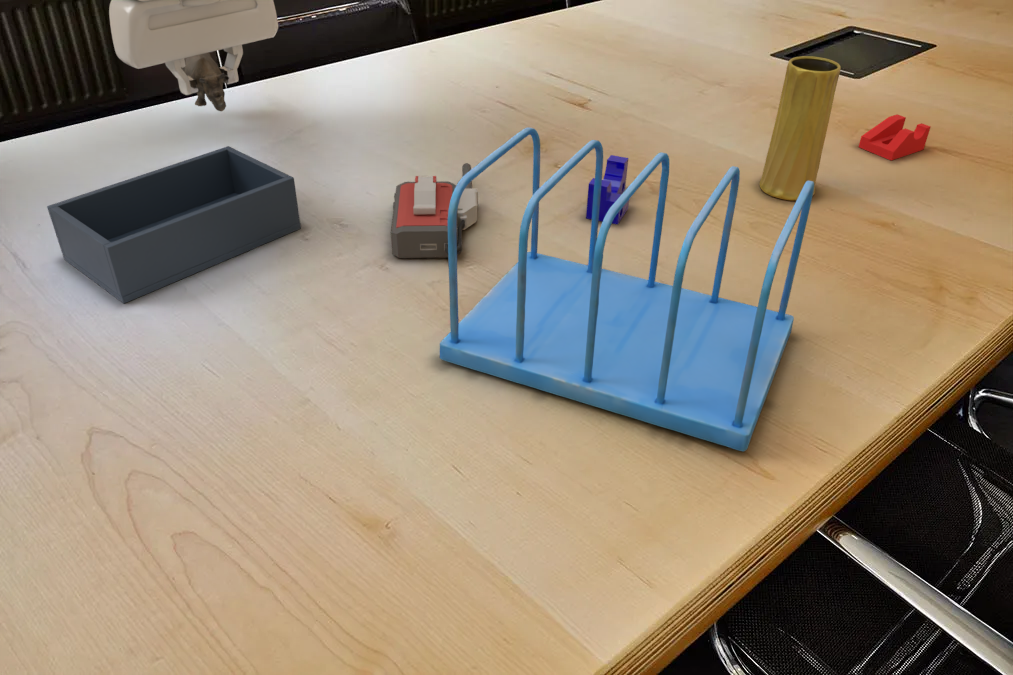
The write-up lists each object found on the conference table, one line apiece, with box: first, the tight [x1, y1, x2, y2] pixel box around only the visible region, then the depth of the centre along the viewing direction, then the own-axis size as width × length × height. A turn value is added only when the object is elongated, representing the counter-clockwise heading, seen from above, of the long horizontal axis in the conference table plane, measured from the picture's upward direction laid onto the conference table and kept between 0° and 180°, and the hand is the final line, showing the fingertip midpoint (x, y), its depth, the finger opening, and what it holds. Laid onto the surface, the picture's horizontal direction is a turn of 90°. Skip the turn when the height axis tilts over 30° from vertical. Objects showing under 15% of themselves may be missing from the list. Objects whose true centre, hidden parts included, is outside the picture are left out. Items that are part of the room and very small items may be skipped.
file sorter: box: [439, 126, 814, 452], centre depth 67 cm, size 25×17×15 cm
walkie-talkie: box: [390, 162, 479, 259], centre depth 89 cm, size 9×4×20 cm
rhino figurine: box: [181, 52, 227, 112], centre depth 106 cm, size 4×14×6 cm, turn 29°
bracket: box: [858, 113, 932, 161], centre depth 106 cm, size 6×5×3 cm
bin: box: [46, 145, 302, 304], centre depth 83 cm, size 11×19×6 cm, turn 138°
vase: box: [759, 55, 841, 202], centre depth 93 cm, size 6×6×14 cm
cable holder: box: [585, 154, 630, 226], centre depth 92 cm, size 8×4×4 cm, turn 158°
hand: (209, 87), depth 106 cm, fingers closed on rhino figurine, 4 cm apart
